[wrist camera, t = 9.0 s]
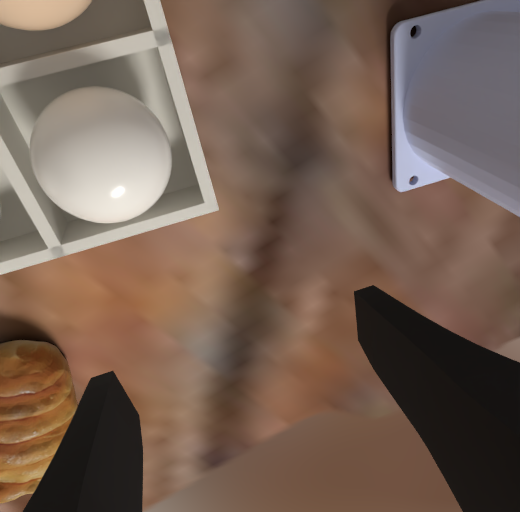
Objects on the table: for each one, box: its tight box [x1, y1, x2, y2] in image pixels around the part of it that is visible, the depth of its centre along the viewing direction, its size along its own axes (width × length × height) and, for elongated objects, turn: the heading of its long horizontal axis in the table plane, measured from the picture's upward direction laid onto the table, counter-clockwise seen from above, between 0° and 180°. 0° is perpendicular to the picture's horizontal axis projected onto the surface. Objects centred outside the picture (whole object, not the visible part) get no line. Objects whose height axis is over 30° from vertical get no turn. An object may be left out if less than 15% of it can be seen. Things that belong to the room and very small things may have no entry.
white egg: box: [30, 86, 172, 223], centre depth 15 cm, size 5×5×5 cm
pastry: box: [0, 340, 78, 503], centre depth 22 cm, size 9×7×4 cm
